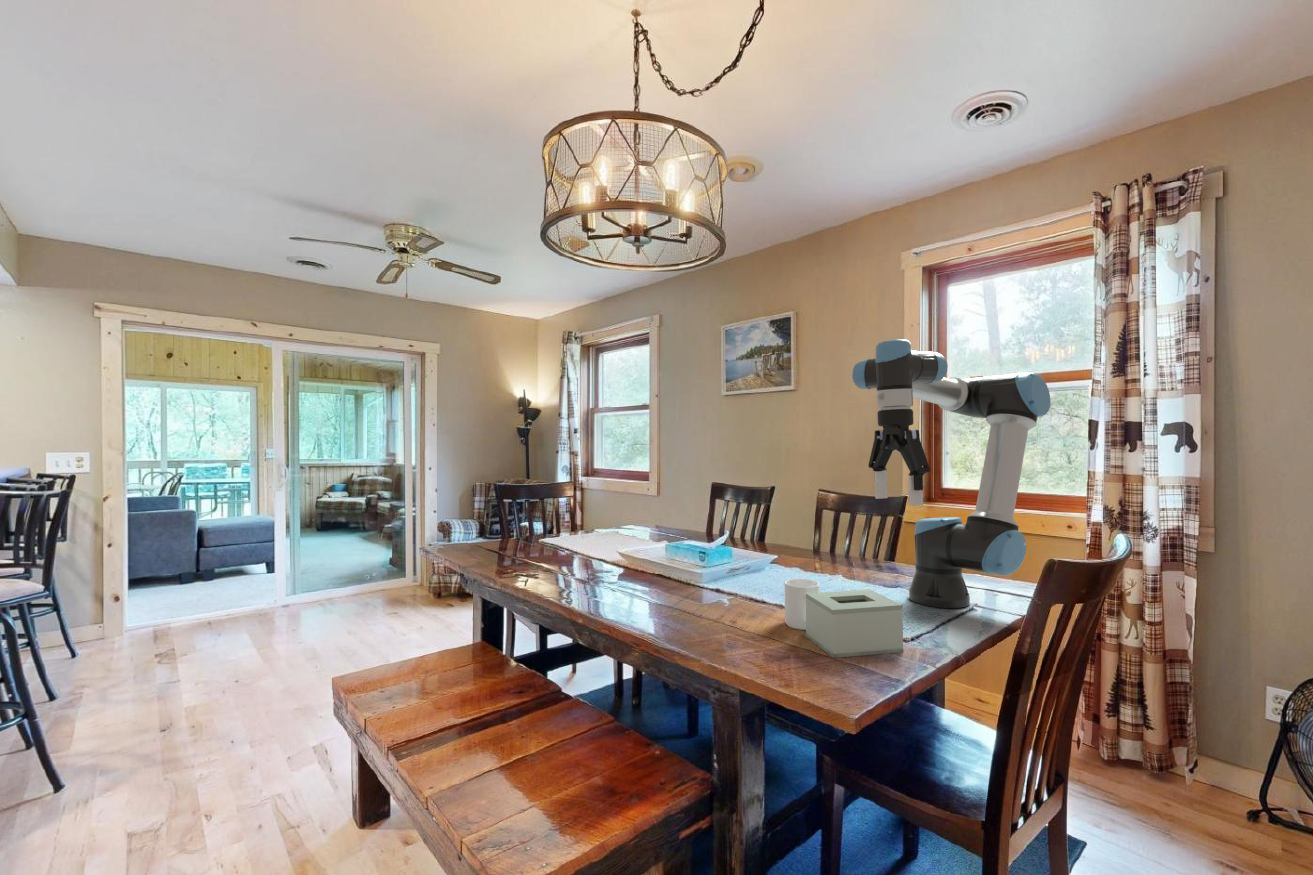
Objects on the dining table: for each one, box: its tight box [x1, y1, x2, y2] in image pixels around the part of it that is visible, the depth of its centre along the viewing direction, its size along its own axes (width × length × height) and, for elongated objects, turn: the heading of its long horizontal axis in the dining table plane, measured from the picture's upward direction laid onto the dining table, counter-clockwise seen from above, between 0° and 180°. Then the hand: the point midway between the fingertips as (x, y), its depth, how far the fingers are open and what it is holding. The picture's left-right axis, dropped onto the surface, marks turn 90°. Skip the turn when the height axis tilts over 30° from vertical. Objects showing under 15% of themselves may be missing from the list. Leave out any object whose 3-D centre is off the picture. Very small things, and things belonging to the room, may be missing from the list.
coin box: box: [805, 588, 904, 659], centre depth 126 cm, size 16×13×10 cm
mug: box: [784, 578, 820, 631], centre depth 137 cm, size 12×8×10 cm
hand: (898, 501), depth 129 cm, fingers open, 13 cm apart
